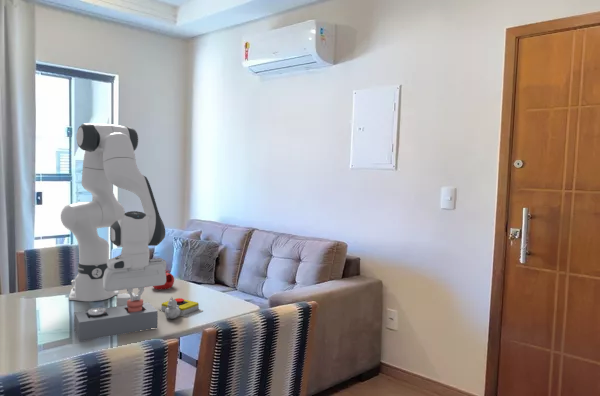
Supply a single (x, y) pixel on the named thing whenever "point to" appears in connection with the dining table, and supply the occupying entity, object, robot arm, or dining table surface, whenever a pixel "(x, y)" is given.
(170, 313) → the grey figurine
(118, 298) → the light grey cube
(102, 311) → the grey plunger
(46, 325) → the dining table surface
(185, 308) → the emergency button
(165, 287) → the pomegranate
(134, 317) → the block
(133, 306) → the red plunger
